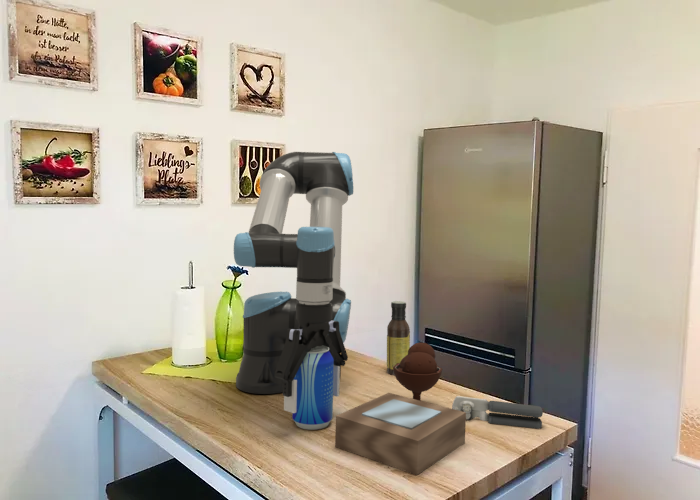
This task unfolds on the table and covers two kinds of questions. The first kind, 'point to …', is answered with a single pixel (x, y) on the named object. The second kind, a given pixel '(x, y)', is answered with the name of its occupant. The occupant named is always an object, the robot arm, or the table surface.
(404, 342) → the sauce bottle
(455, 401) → the can opener
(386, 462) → the walnut plinth
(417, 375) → the ice cream bowl
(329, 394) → the beer can
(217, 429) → the table surface
